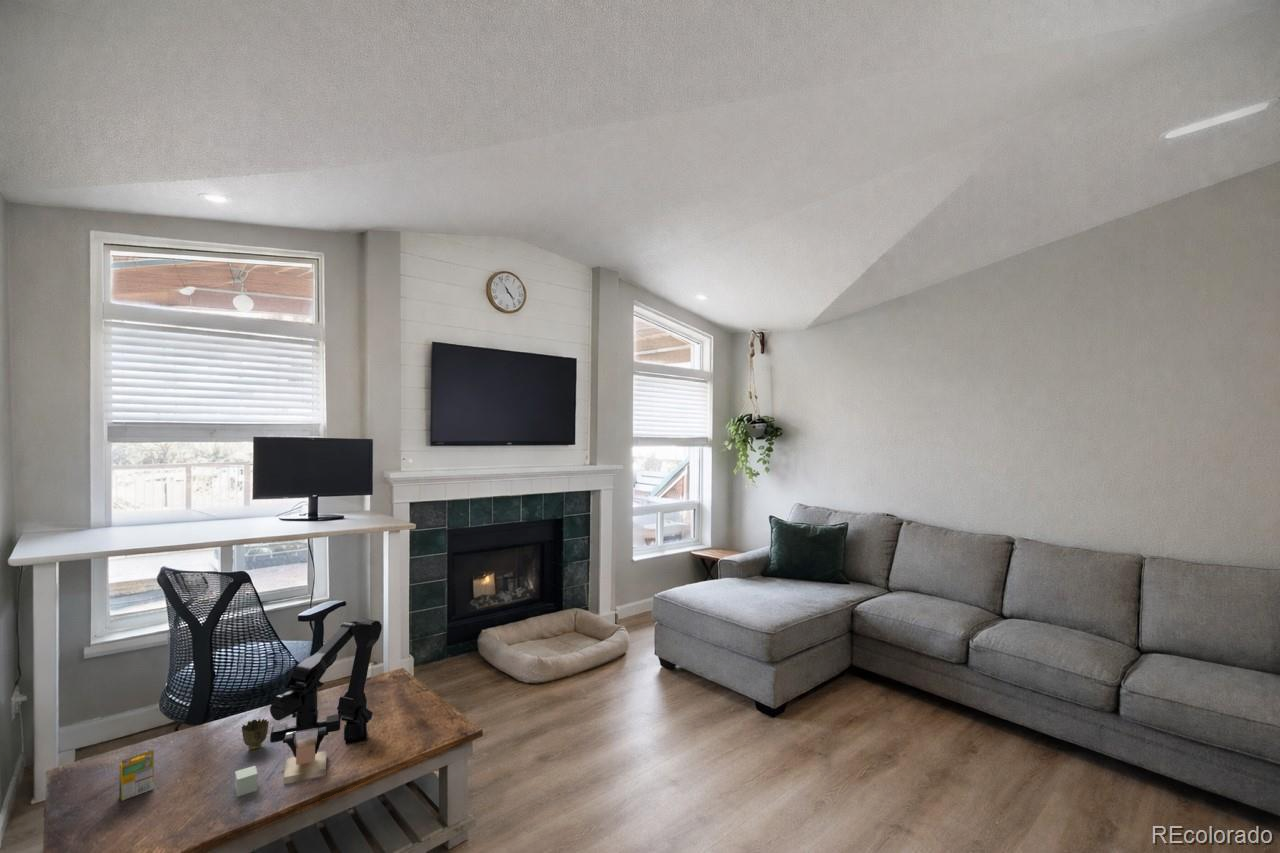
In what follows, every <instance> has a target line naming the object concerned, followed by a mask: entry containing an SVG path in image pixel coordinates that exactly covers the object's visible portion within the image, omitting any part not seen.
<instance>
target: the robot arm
mask: <svg viewBox="0 0 1280 853" xmlns="http://www.w3.org/2000/svg"><path fill="white" fill-rule="evenodd" d="M382 627H383V626H382V624H381V622H380V620H375V619H370V618H361V619H359V620H354V621H345V622H343V623H341V625H340V627H339V629H337V631H335V633H334V634H333V635H332V636H331V637H330V638H329V639H328V640H327V641H326V642H325V643H324V644H323V645H322V646H321V647H320V648H319V649H318V651H317V652H315V653H314V654H313V655H311V656H308V657H306V658H305V659H303V660H302V661H301V662H300V663H298V664H297V665H296V666H295V668H294V669H293V672H292V674H291V676H290V678H289V680H288V682H287V683H286V685H285V687H284V691H285V692H284V693H282V694H278V695H276V696H275V700H274V701H272V703H271V705H270V707H269V712H270V715H271V717H272V719H273V720H275V721H281V720H283V719H286V718H287V717H290V716H291V715H292V716H291V717H292V719H295V725H294V726H293V725H292V726H289V727H288V723H287V722H286V723H280V724H275V725H273V726H272V728H271V731H270V735H269V736H270V738H269V742H270V743H271V744H272V743H278V742H282V743H283V744H287V745H288V747H289V748H290V750H291V753H293V757H295V758H296V747H297V737H296V736H297V735H296V734H297V733H303V732H308V731H314V730H317V733H316V747H315V754H317V752H319V748H320V745H321V743H322V741H323V739H324V738H325V736H327V735H328V736H329V733H333V732H338V731H341V722H345V724H344V727H343V728H344V729H343V740H344V741H345V742H344V743H345V745H349V744H355V743H360V742H366V741H367V740H368V735H367V734H368V733H367V732H368V731H367V730H368V729H367V726H368V725H367V724H368V723H369V721H371V720H372V717H373V714H374V713H373V711H371V710H369V709H368V708H367V702H368V701H367V700H368V699H367V697H366V694H365V686H366V681H367V676H368V673H369V667H370V661H371V656H372V651H373V647H374V645H375V644H376V643H377V642H378V640H379V639H380V635H381V633H382V629H383V628H382ZM352 638H353V639H354V642H355V644H356V648H355V653H354V660H353V665H352V667H351V668H352V669H351V673H350V679H349V682H348V683H349V684H348V687H347V688H348V689H347V691H346V692H345V693H344V695H343V696H340V697H339V698H338V705H337V707H336V710H337V714H332V715H328V716H326V719H324V720H320V721H318V720H319V710H318V688H321V687H323V686H324V683H325V682H323V681H321V678H322V677H323V676H324V675H325V673H326V672H327V671H326V670H327V667H328V664H329V663H330V662H331V660H333V658H335V656H337V654H338V653H339V652H340V651H341V650H342V649H343V648H344V647H345V646H346V644H347V643H348V642H349V641H350V640H351V639H352ZM297 683H298V684H297ZM300 684H302V685H300Z"/></svg>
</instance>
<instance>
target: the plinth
mask: <svg viewBox="0 0 1280 853" xmlns="http://www.w3.org/2000/svg"><path fill="white" fill-rule="evenodd" d="M327 753H328V752H327V750H322V751H317V754H316V756H315V761H313V762H308V763H303V764H298V765H296V758H295V756H292V757H288V758H286V761H285V767H284V768H285V769H284V774H283V785H287V784H291V783H296V782H300V781H306V780H311V779H314V778H319V777H325V776H326V775H327V774H326V773H327V772H326V771H327V770H326V769H327Z"/></svg>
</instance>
